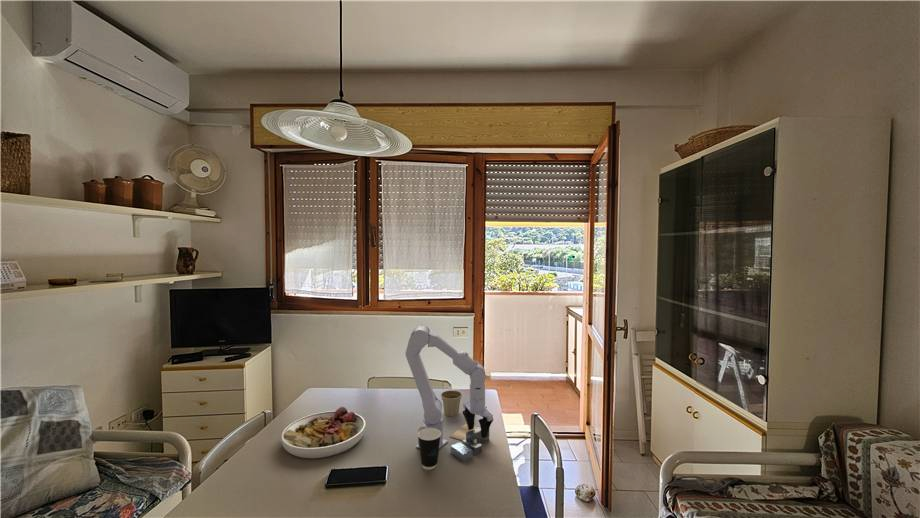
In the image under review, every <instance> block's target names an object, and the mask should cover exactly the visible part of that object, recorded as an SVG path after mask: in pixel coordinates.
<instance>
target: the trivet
mask: <svg viewBox="0 0 920 518" xmlns="http://www.w3.org/2000/svg"><path fill="white" fill-rule="evenodd" d="M479 427H480V425H475V424H474V429H476V428H479ZM474 429H472V430H474ZM469 431H471V430H469V429H468V426H467V422H466V423H465V424H463V425H462V426H460V428H458V429H457V430H456V431H455V432H453V433H452V434H451V435H450V436H449V437H450V438H451V439H452V438H453V439H456V440H458V441H461V442H463V440H465V439H466V432H469Z"/></svg>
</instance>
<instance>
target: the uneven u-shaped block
mask: <svg viewBox="0 0 920 518" xmlns="http://www.w3.org/2000/svg"><path fill="white" fill-rule="evenodd" d="M474 439H477V444H476V445H474ZM488 441H490V430H489V431H488V435H487V437H485V438H482V436H481V427H479V428H476V429H474V430H471V431H469V432H466V439H465V440H463V441H462V444H463V445H465V446H466V447H468V448H469V449H471V450H472V455H474V456H476V455H478V454H481V453H483V444H484V443H487V442H488Z"/></svg>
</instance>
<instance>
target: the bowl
mask: <svg viewBox="0 0 920 518" xmlns="http://www.w3.org/2000/svg"><path fill="white" fill-rule="evenodd" d="M366 424H367V423H366V420H365V418H364V417H363V416H361V415H360V414H358V413H355V412H354V411H348V410H347V408H346V407H344V406H340V407H339V408H337V409H336V410H328V411H322V412H321V411H320V412H317V413H316V412H315V413H312V414H309V415H306V416H303V417H301V418H299V419H296V420H295V421H293V422H291V423H290V424H289V425H287V426H285V428H284V429H283V431H282V432H281V438H280V439H281V444H282V446H283V448H284V450H285V451H286V452H287V453H289V454H291V455H292V456H295V457H298V458H303V459H321V458H328V457H331V456H335V455H338V454H341V453H343V452H346V451H348V450H350V448H351V449H352V448H353V446H355V445H356V444H358V443H359V442H360V440H361V439H362V437H363V436H364V434H365V432H366Z"/></svg>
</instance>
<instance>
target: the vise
mask: <svg viewBox="0 0 920 518" xmlns="http://www.w3.org/2000/svg"><path fill="white" fill-rule="evenodd" d="M476 444H477V439H474V445H476ZM450 453H451V454H452V455H453V456H455V457H457V458H458V459H459V460H461V462H465V461H469V460H470V459H472V458H473V454H472V450H471V449H469V448H468V447H466V446H465V445H463V442H460V441H459V442H456V443H454V444H452V445H450Z"/></svg>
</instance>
